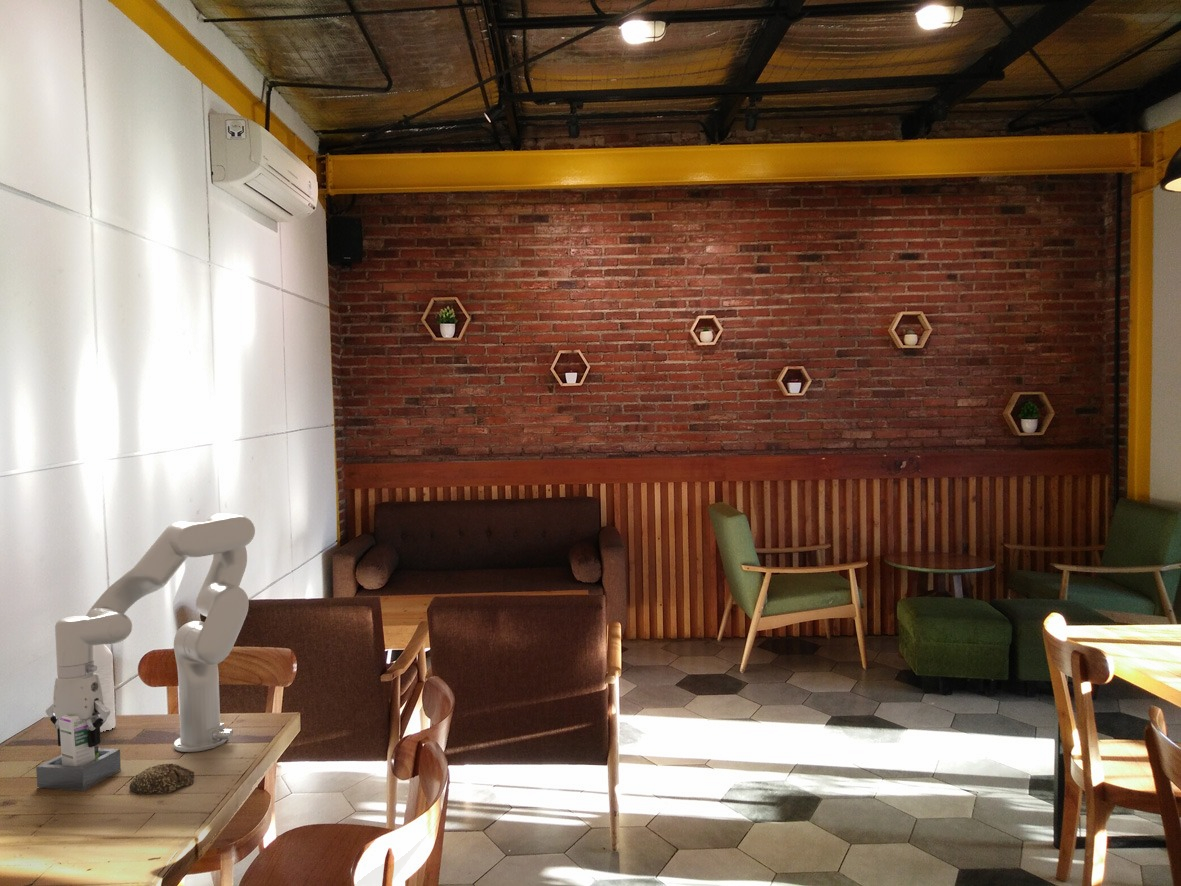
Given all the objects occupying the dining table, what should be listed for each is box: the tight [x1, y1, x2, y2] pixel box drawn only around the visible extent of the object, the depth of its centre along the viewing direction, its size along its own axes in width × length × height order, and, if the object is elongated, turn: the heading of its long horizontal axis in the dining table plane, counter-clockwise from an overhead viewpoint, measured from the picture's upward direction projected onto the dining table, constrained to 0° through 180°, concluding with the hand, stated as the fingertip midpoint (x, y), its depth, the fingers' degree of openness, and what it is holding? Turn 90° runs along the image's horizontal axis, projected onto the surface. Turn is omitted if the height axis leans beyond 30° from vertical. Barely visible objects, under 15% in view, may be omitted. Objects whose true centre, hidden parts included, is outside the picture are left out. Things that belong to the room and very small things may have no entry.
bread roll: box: [128, 763, 195, 796], centre depth 200 cm, size 13×12×5 cm
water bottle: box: [93, 644, 116, 733], centre depth 236 cm, size 9×6×25 cm
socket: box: [35, 747, 122, 792], centre depth 204 cm, size 12×12×5 cm
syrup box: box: [59, 713, 99, 766], centre depth 204 cm, size 6×6×14 cm
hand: (79, 744), depth 204 cm, fingers closed on syrup box, 7 cm apart
